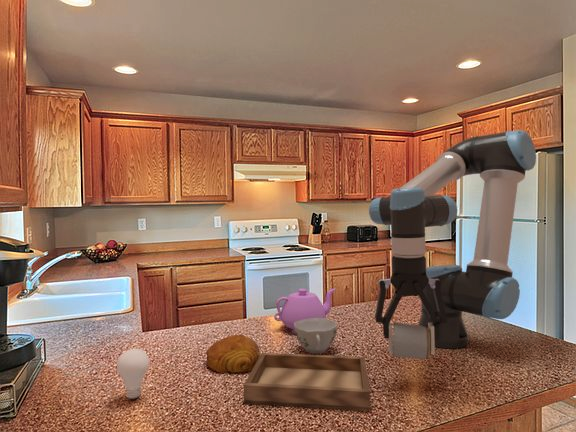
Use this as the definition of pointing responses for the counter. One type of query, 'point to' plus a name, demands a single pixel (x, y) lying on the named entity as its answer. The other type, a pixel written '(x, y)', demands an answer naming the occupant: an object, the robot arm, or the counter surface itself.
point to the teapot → (302, 307)
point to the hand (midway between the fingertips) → (411, 352)
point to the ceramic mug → (411, 341)
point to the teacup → (315, 334)
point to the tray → (309, 382)
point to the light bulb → (133, 370)
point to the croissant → (233, 354)
